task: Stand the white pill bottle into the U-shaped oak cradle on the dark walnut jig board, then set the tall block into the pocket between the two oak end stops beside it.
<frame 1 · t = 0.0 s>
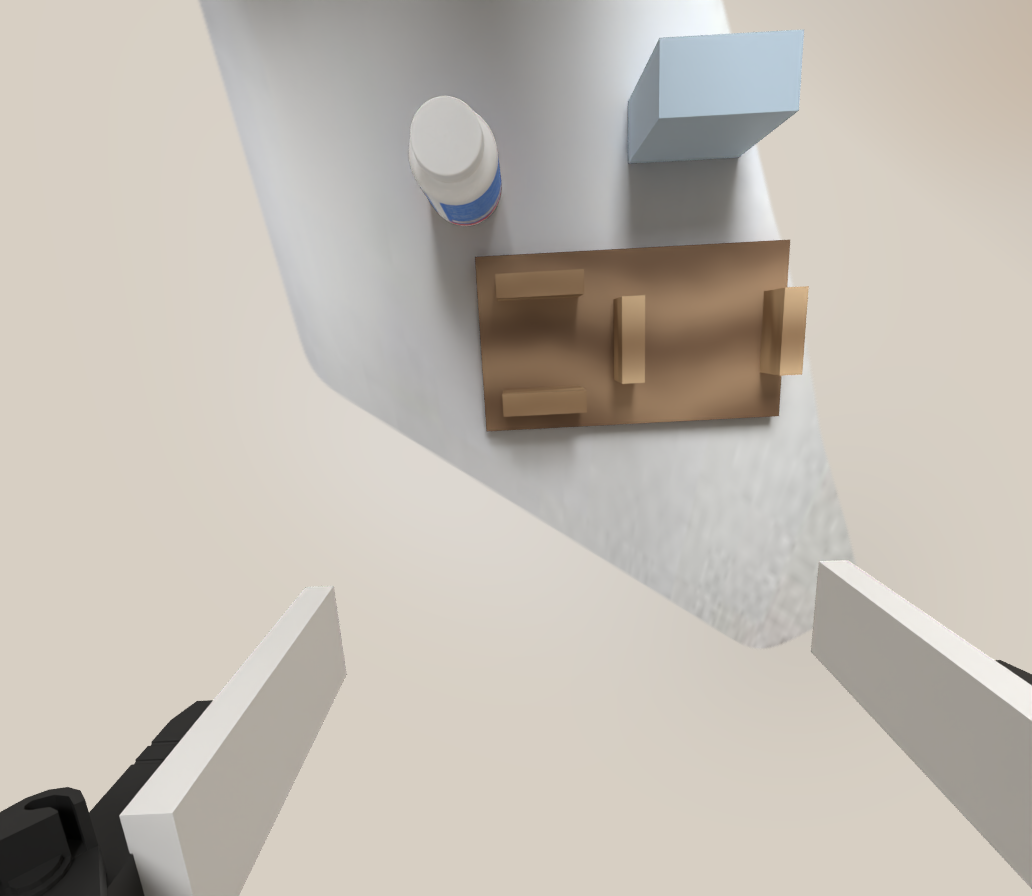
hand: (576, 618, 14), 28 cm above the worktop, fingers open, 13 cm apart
jig: (628, 339, 39), on the worktop
pill bottle: (464, 188, 37), on the worktop
block: (683, 130, 36), on the worktop
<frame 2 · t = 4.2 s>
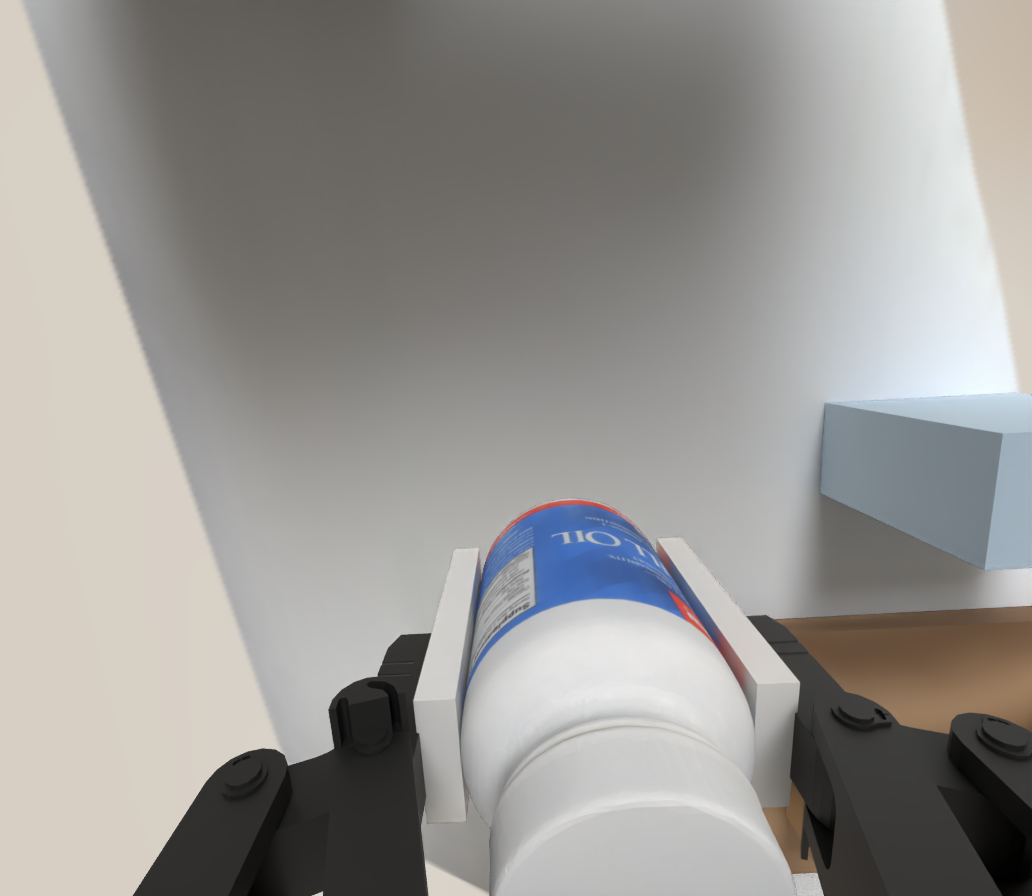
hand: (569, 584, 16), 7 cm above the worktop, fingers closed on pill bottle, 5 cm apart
jig: (804, 739, 25), on the worktop
pill bottle: (566, 571, 16), point 6 cm above the worktop, touching gripper
block: (913, 443, 22), on the worktop
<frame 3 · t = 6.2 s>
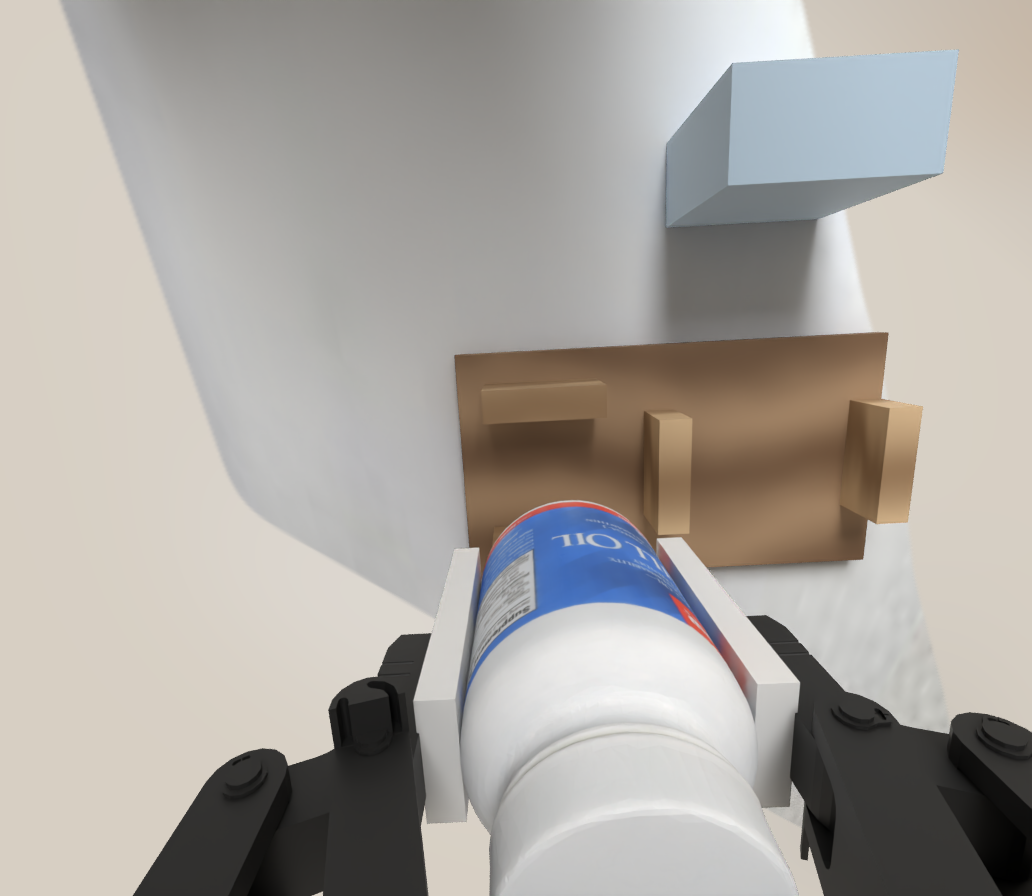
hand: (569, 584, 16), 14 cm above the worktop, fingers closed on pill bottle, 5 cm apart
jig: (662, 457, 29), on the worktop
pill bottle: (566, 573, 16), point 14 cm above the worktop, touching gripper
block: (743, 182, 26), on the worktop
when the fingers open (2 cm above the worktop, at t = 8.5 s): pill bottle stays where it is, resting on jig.
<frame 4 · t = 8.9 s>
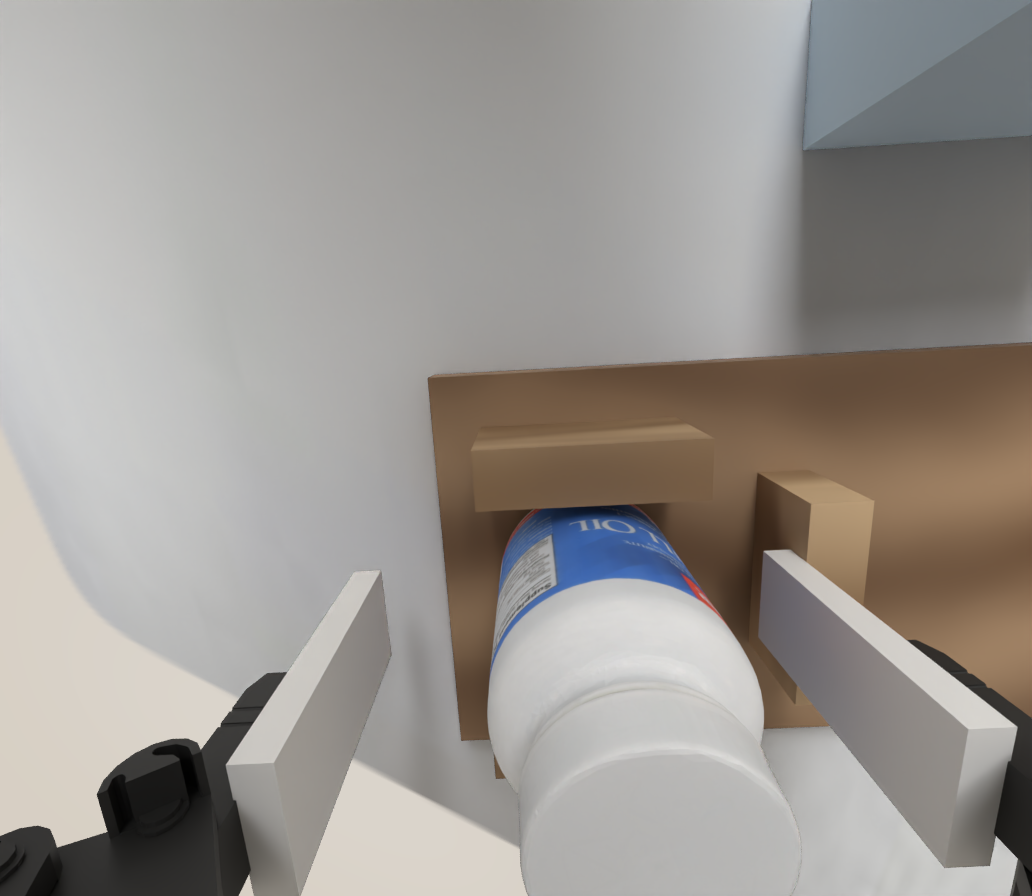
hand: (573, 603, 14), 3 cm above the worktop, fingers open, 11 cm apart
jig: (777, 543, 18), on the worktop
pill bottle: (581, 560, 17), point 1 cm above the worktop, touching jig
block: (947, 64, 14), on the worktop
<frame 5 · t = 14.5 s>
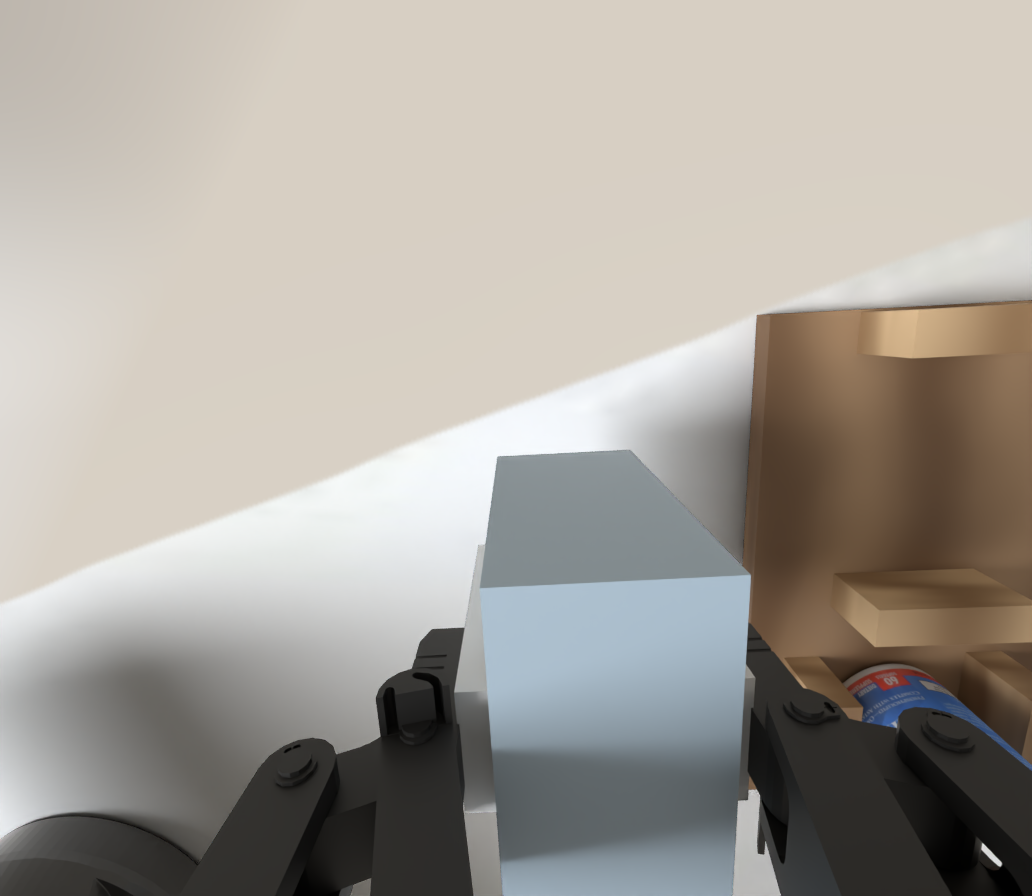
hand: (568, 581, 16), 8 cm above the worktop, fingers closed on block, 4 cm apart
jig: (884, 562, 23), on the worktop
pill bottle: (877, 706, 24), point 1 cm above the worktop, touching jig
block: (567, 574, 16), point 7 cm above the worktop, touching gripper
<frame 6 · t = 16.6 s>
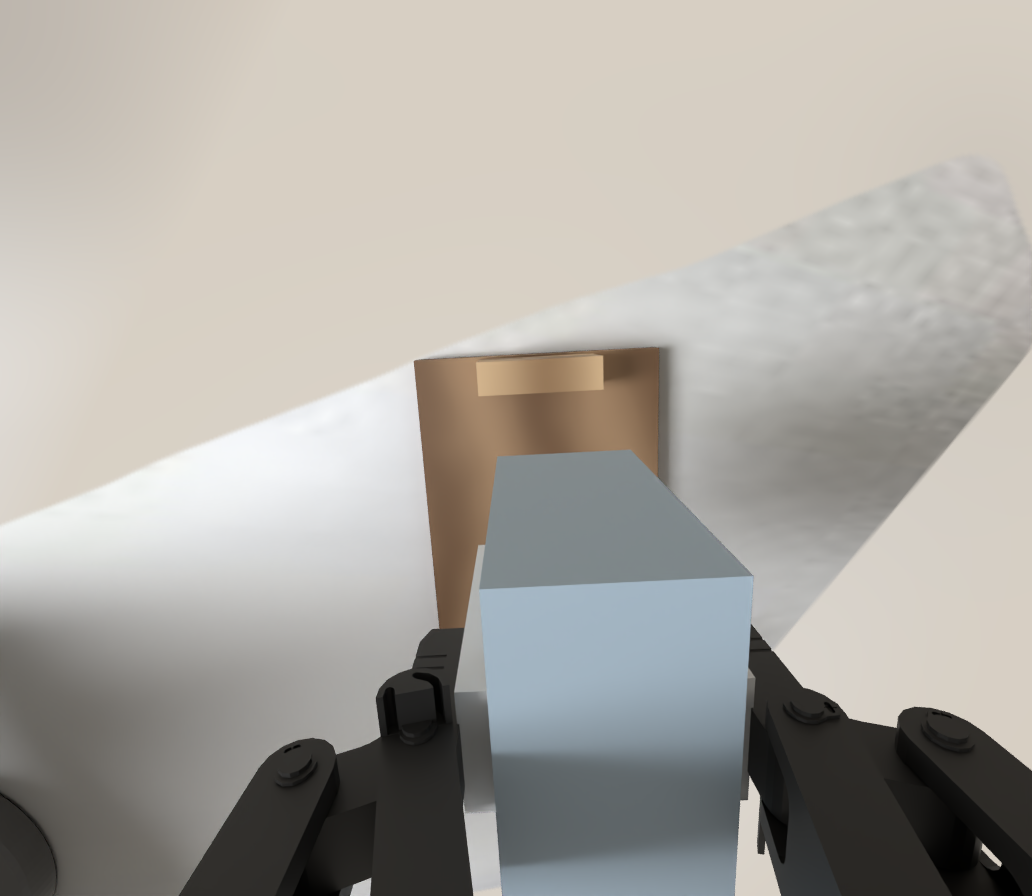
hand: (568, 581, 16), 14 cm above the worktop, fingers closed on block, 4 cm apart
jig: (543, 547, 30), on the worktop
block: (567, 575, 16), point 14 cm above the worktop, touching gripper
when the fingers open (2 cm above the worktop, at t = 18.8 s): block stays where it is, resting on jig.
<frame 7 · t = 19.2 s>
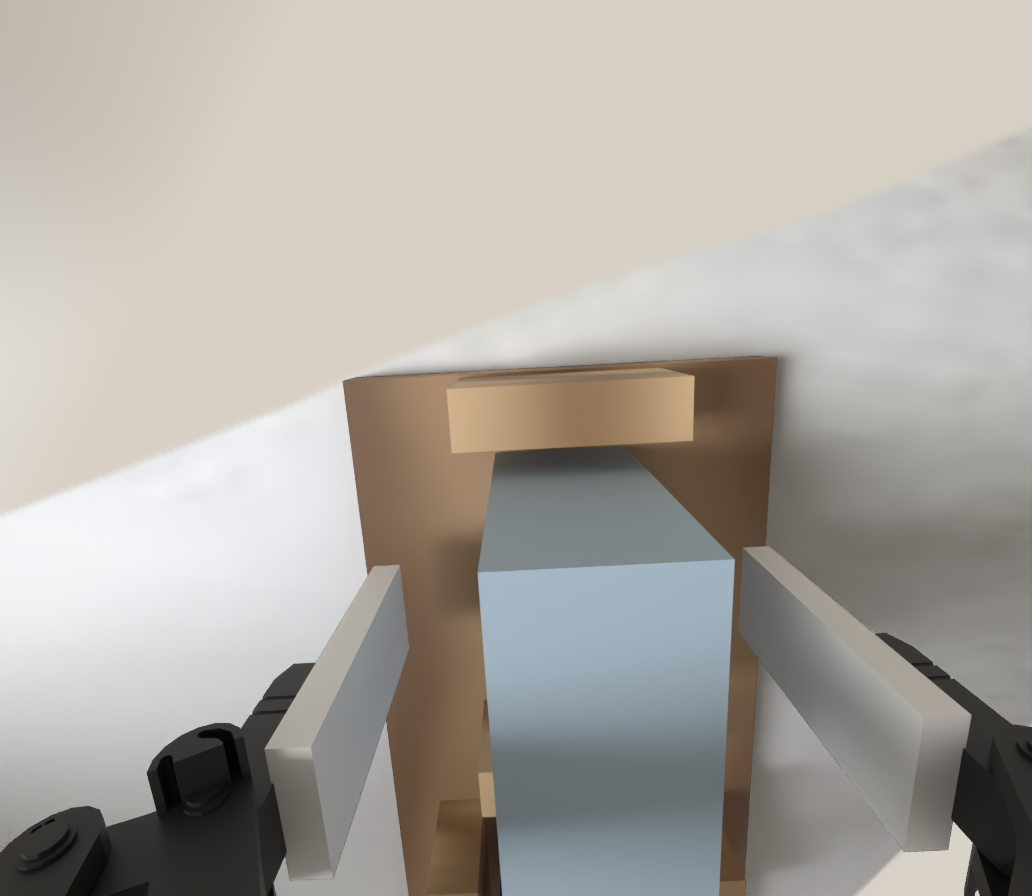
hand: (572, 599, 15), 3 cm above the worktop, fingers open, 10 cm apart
jig: (566, 677, 19), on the worktop
block: (563, 568, 17), point 1 cm above the worktop, touching jig
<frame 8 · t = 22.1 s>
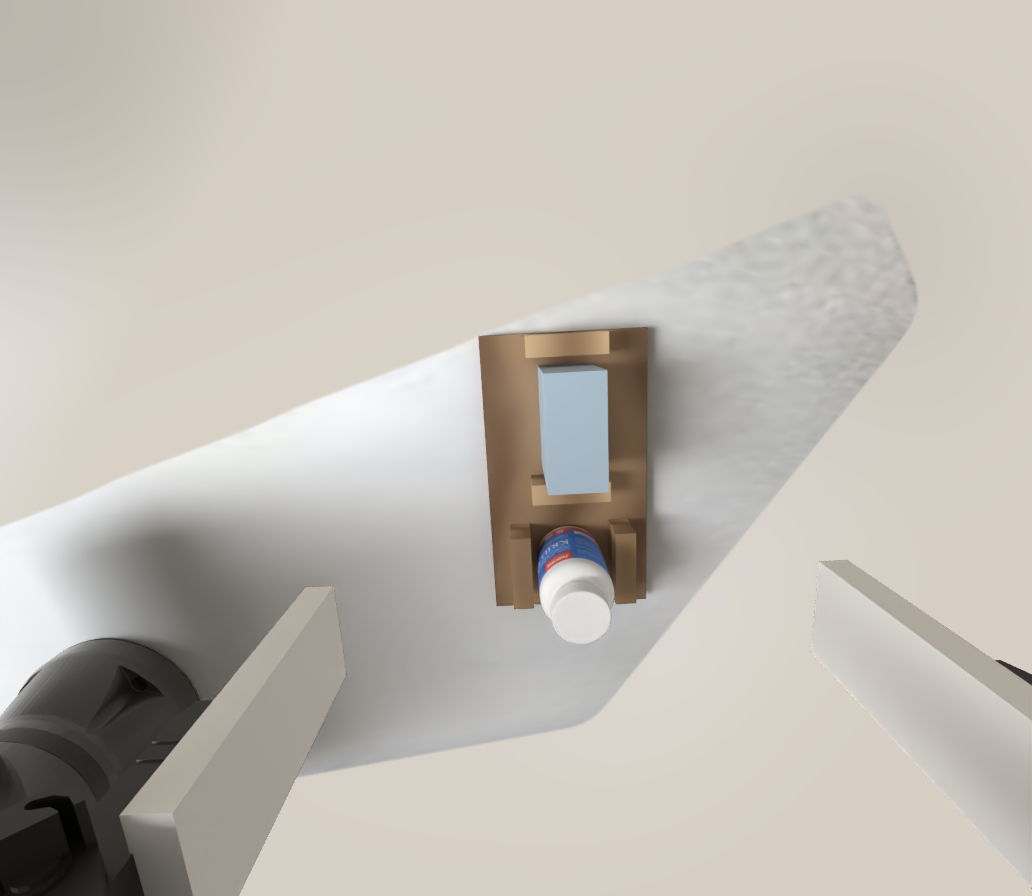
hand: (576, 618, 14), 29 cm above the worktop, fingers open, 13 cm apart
jig: (565, 471, 43), on the worktop
pill bottle: (567, 553, 43), point 1 cm above the worktop, touching jig
block: (564, 414, 40), point 1 cm above the worktop, touching jig
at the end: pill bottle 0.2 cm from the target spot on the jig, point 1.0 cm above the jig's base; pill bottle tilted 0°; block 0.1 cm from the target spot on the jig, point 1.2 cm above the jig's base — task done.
